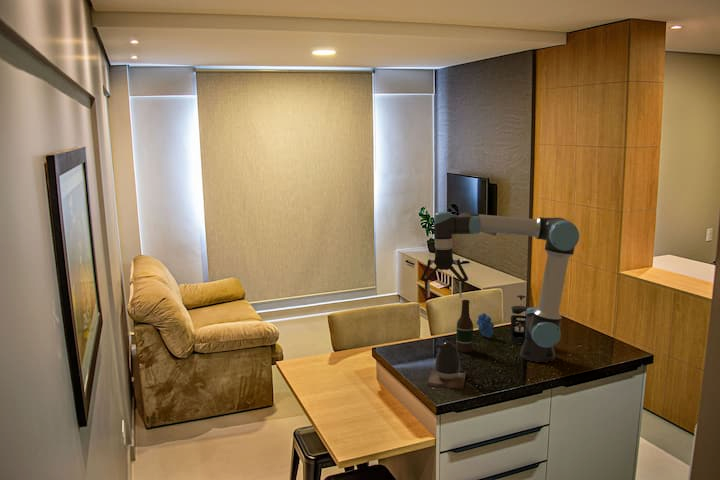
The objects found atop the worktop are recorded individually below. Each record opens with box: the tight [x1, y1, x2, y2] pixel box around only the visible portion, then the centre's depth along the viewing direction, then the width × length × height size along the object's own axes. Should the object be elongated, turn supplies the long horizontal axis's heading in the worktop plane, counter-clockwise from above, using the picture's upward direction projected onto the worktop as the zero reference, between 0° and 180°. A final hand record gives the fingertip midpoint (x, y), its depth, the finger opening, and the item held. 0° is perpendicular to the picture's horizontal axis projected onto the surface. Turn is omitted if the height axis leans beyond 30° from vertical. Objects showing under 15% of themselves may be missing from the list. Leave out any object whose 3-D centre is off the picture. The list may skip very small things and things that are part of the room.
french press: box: [509, 294, 530, 343], centre depth 296 cm, size 12×9×23 cm
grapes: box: [476, 312, 495, 339], centre depth 303 cm, size 12×7×12 cm, turn 32°
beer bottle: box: [455, 299, 474, 353], centre depth 283 cm, size 8×8×24 cm
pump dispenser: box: [434, 340, 461, 380], centre depth 246 cm, size 10×10×15 cm
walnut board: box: [427, 369, 467, 390], centre depth 247 cm, size 14×14×1 cm
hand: (444, 296), depth 262 cm, fingers open, 13 cm apart
